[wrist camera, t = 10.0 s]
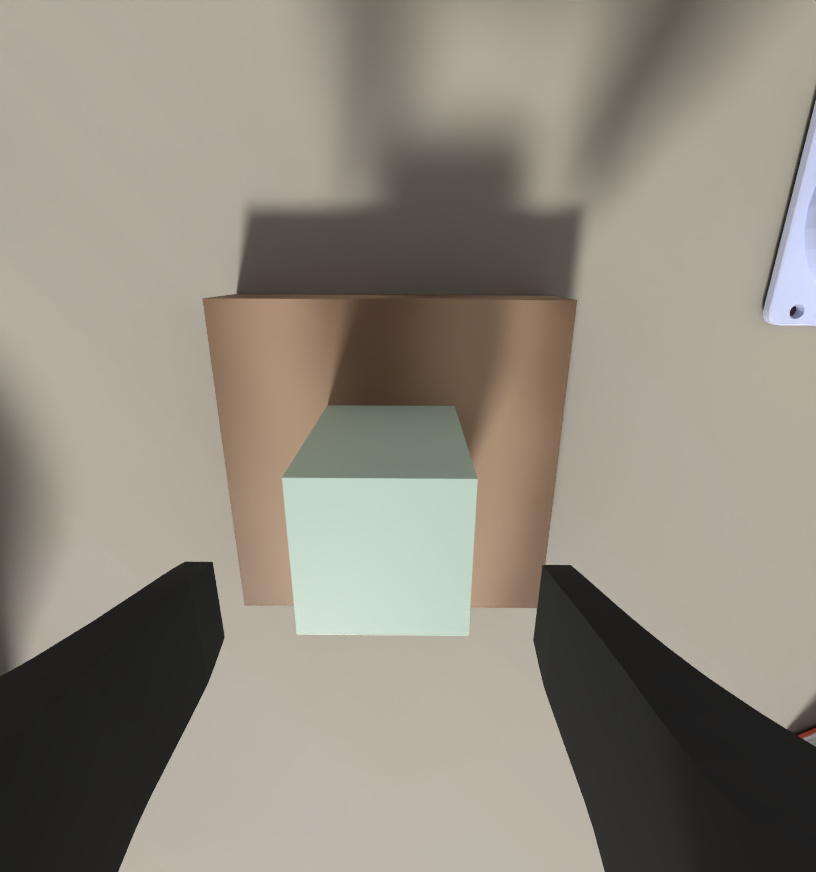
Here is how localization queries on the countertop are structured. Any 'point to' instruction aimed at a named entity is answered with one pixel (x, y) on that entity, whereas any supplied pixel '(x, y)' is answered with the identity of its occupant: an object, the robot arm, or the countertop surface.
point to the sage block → (382, 523)
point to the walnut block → (395, 386)
